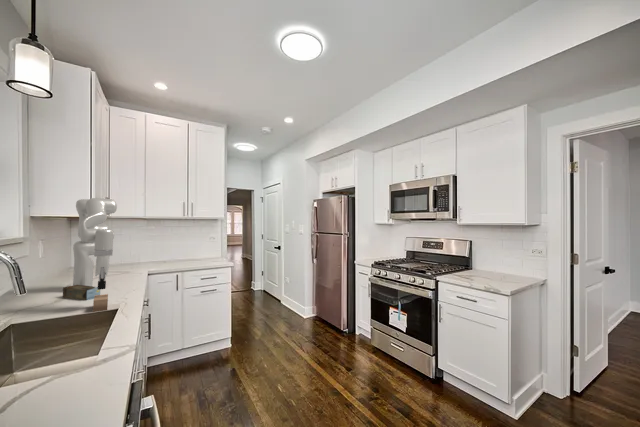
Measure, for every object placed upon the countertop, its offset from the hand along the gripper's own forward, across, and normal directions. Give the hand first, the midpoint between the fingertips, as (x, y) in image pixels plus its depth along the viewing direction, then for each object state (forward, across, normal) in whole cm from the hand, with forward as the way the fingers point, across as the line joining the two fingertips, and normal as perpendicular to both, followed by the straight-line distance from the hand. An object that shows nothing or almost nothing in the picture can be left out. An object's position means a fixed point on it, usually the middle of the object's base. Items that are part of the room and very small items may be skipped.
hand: (101, 288), depth 144 cm
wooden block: (+6, -3, 0) cm, 7 cm away
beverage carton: (+10, -29, -9) cm, 32 cm away
